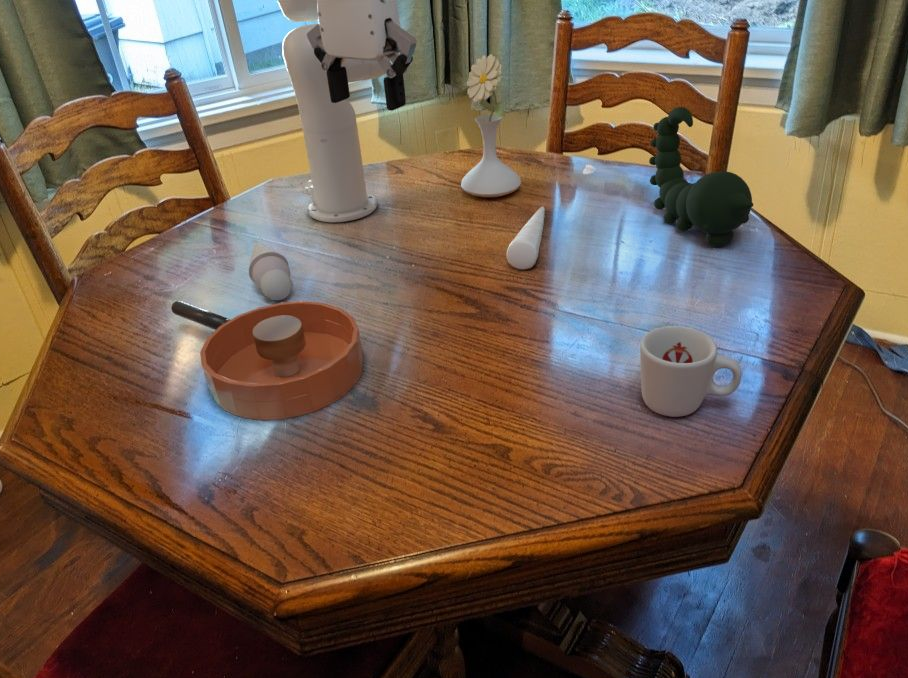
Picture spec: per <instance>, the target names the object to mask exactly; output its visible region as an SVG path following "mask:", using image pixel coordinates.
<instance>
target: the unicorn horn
mask: <svg viewBox="0 0 908 678" xmlns="http://www.w3.org/2000/svg"><path fill="white" fill-rule="evenodd" d="M545 213H546V211H545V206H543V205H542V206H541V207H539V208H538V209H537V210H536V211H535V212H534V214H533V215H532V216H531V217H530V218H529V219H528V221H527V222H526V223H525V225H524V226H523V227H522V228H521V229H520V231H519V232H518V233H517V234H516V235H515V237H514V238H513V239H512V241H511V242H510V243H509V245H508V247H507V250H506V260H507V262H508V264H509V265H510V266H512V267H513V268H514V269H517V270H523V271H526V270H529V269H532V268H533V267H534V265H536V262H537V260H538V257H539V253H540V247H541V242H542V238H543V232H544V231H543V230H544V225H545V215H546V214H545Z"/></svg>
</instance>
